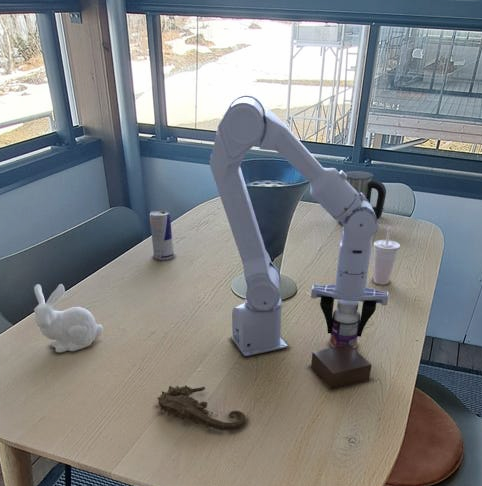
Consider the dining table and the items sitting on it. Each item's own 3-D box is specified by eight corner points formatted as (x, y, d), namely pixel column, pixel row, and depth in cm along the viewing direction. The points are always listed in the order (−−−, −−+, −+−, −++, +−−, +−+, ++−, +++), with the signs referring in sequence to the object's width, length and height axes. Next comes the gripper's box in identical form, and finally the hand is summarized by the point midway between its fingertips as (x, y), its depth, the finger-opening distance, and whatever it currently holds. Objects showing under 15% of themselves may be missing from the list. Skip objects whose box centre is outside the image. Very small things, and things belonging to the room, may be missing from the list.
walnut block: (331, 389, 95) (333, 373, 93) (310, 367, 101) (312, 351, 99) (369, 380, 98) (371, 364, 96) (347, 359, 104) (349, 343, 102)
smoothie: (365, 284, 132) (373, 228, 124) (371, 274, 137) (379, 220, 129) (391, 288, 130) (401, 232, 122) (395, 278, 135) (405, 224, 127)
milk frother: (337, 226, 167) (342, 177, 158) (339, 211, 180) (344, 165, 171) (382, 229, 166) (390, 179, 157) (381, 214, 178) (388, 167, 169)
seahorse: (211, 447, 82) (210, 432, 80) (146, 404, 91) (144, 389, 89) (251, 421, 88) (251, 406, 86) (186, 382, 97) (185, 368, 95)
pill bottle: (328, 338, 110) (333, 295, 104) (354, 338, 110) (360, 296, 104) (330, 351, 106) (335, 307, 100) (357, 352, 106) (364, 308, 100)
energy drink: (177, 255, 146) (174, 211, 139) (165, 262, 142) (160, 217, 135) (162, 251, 148) (158, 208, 141) (150, 257, 145) (145, 213, 138)
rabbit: (45, 358, 103) (30, 302, 96) (40, 336, 109) (25, 283, 102) (108, 345, 107) (98, 291, 100) (98, 325, 114) (88, 272, 106)
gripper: (392, 263, 100) (381, 327, 108) (316, 257, 102) (311, 319, 111) (392, 278, 95) (381, 344, 103) (312, 271, 97) (307, 336, 105)
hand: (344, 332), depth 106 cm, fingers closed on pill bottle, 5 cm apart
